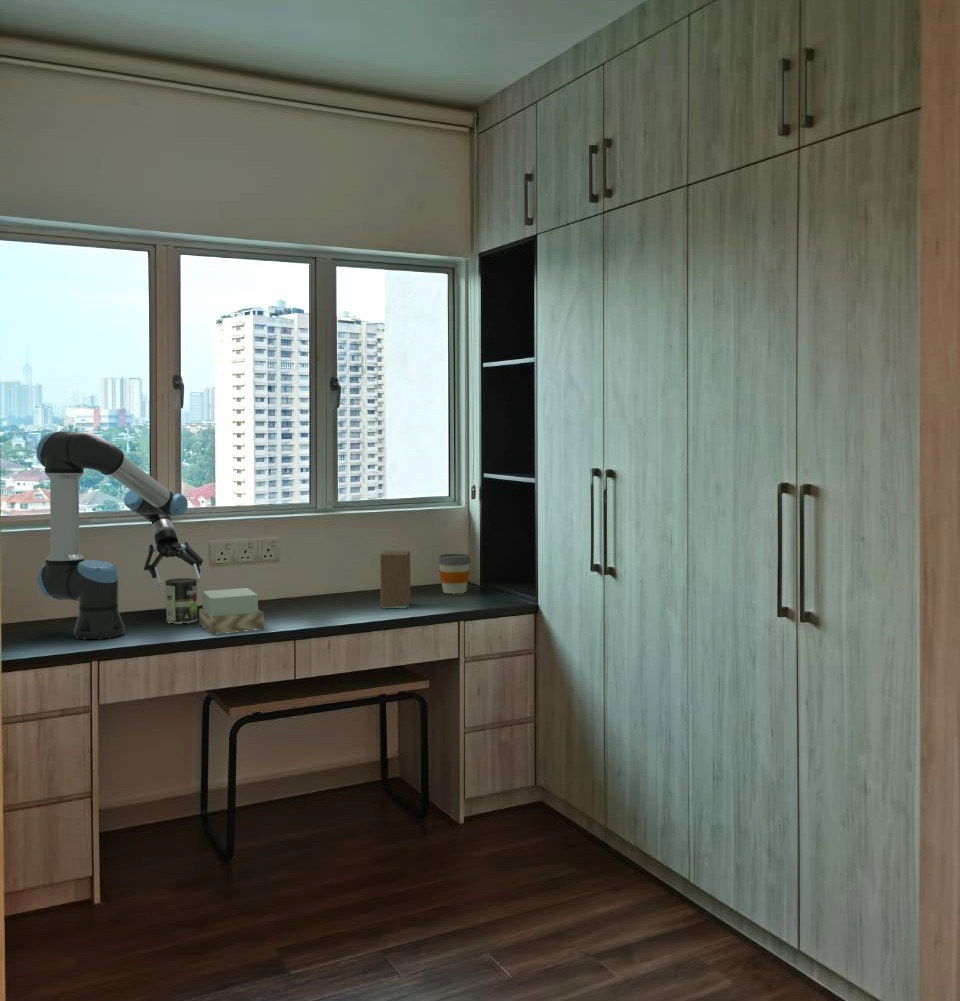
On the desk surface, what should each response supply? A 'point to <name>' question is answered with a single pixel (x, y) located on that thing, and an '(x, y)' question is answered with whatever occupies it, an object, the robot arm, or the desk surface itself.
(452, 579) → the reusable coffee cup
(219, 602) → the sage top slab
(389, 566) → the wooden block
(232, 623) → the birch base slab
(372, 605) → the desk surface
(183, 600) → the coffee can
